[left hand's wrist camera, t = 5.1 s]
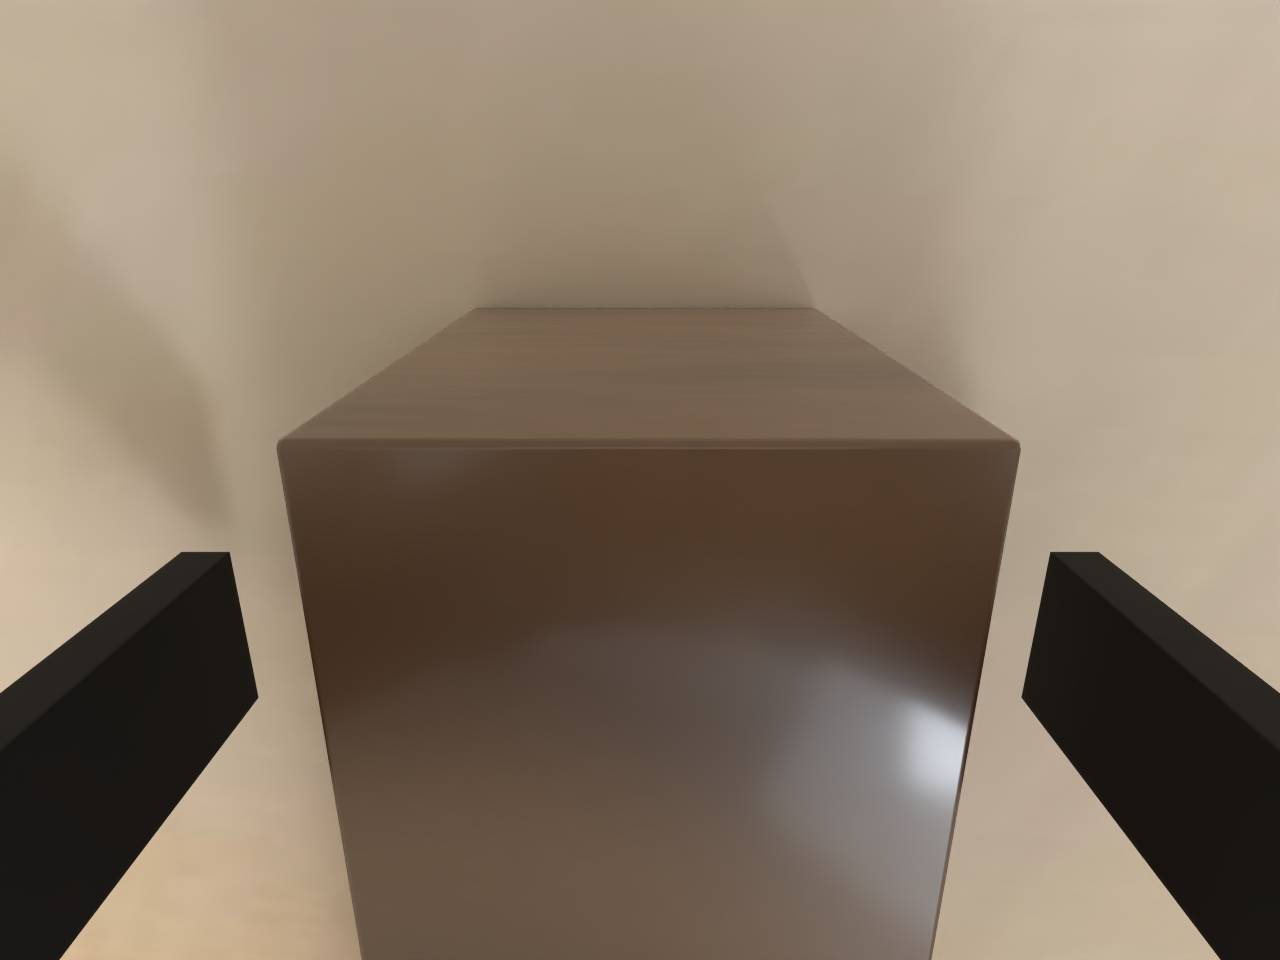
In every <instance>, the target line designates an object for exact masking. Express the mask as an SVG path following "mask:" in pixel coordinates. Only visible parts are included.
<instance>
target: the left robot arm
mask: <svg viewBox="0 0 1280 960" xmlns="http://www.w3.org/2000/svg"><path fill="white" fill-rule="evenodd" d="M257 699H258V693H257V688H256V683H255V678H254V673H253V668H252V663H251V658H250V653H249V648H248V643H247V638H246V633H245V627H244V622H243V617H242V612H241V607H240V602H239V597H238V592H237V587H236V582H235V577H234V572H233V567H232V562H231V557H230V552H181V553H180V554H178V555H177V556H176V557H175V558H173V559H172V560H171V561H169V562H168V563H167V564H166V565H164V566H163V567H162V568H160V569H159V570H158V571H157V572H155V573H154V574H153V575H151V576H150V577H149V578H148V579H146V580H145V581H144V582H142V583H141V584H140V585H139V586H137V587H136V588H135V589H133V590H132V591H131V592H130V593H128V594H127V595H126V596H125V597H123V598H122V599H121V600H119V601H118V602H117V603H116V604H114V605H113V606H112V607H110V608H109V609H108V610H107V611H105V612H104V613H103V614H101V615H100V616H99V617H98V618H96V619H95V620H94V621H92V622H91V623H90V624H89V625H87V626H86V627H85V628H83V629H82V630H81V631H80V632H78V633H77V634H76V635H74V636H73V637H72V638H71V639H69V640H68V641H67V642H65V643H64V644H63V645H62V646H60V647H59V648H58V649H56V650H55V651H54V652H53V653H51V654H50V655H49V656H47V657H46V658H45V659H44V660H42V661H41V662H40V663H38V664H37V665H36V666H35V667H33V668H32V669H31V670H29V671H28V672H27V673H26V674H24V675H23V676H22V677H21V678H19V679H18V680H17V681H15V682H14V683H13V684H12V685H10V686H9V687H8V688H6V689H5V690H4V691H3V692H1V693H0V960H60V958H61V957H62V956H63V954H64V953H65V952H66V950H67V949H68V948H69V946H70V945H71V944H72V942H73V941H74V940H75V938H76V937H77V936H78V935H79V933H80V932H81V931H82V929H83V928H84V927H85V925H86V924H87V923H88V921H89V920H90V919H91V917H92V916H93V915H94V913H95V912H96V911H97V909H98V908H99V907H100V906H101V904H102V903H103V902H104V900H105V899H106V898H107V896H108V895H109V894H110V892H111V891H112V890H113V888H114V887H115V886H116V884H117V883H118V882H119V881H120V879H121V878H122V877H123V875H124V874H125V873H126V871H127V870H128V869H129V867H130V866H131V865H132V863H133V862H134V861H135V859H136V858H137V857H138V856H139V854H140V853H141V852H142V850H143V849H144V848H145V846H146V845H147V844H148V842H149V841H150V840H151V838H152V837H153V836H154V834H155V833H156V832H157V830H158V829H159V828H160V827H161V825H162V824H163V823H164V821H165V820H166V819H167V817H168V816H169V815H170V813H171V812H172V811H173V809H174V808H175V807H176V805H177V804H178V803H179V802H180V800H181V799H182V798H183V796H184V795H185V794H186V792H187V791H188V790H189V788H190V787H191V786H192V784H193V783H194V782H195V780H196V779H197V778H198V776H199V775H200V774H201V773H202V771H203V770H204V769H205V767H206V766H207V765H208V763H209V762H210V761H211V759H212V758H213V757H214V755H215V754H216V753H217V751H218V750H219V749H220V748H221V746H222V745H223V744H224V742H225V741H226V740H227V738H228V737H229V736H230V734H231V733H232V732H233V730H234V729H235V728H236V726H237V725H238V724H239V722H240V721H241V720H242V719H243V717H244V716H245V715H246V713H247V712H248V711H249V709H250V708H251V707H252V705H253V704H254V703H255V701H256V700H257ZM1022 699H1023V700H1024V701H1025V703H1026V704H1027V705H1028V707H1029V708H1030V709H1031V711H1032V712H1033V713H1034V715H1035V716H1036V717H1037V719H1038V720H1039V721H1040V722H1041V724H1042V725H1043V726H1044V728H1045V729H1046V730H1047V732H1048V733H1049V734H1050V736H1051V737H1052V738H1053V740H1054V741H1055V742H1056V744H1057V745H1058V746H1059V748H1060V749H1061V750H1062V751H1063V753H1064V754H1065V755H1066V757H1067V758H1068V759H1069V761H1070V762H1071V763H1072V765H1073V766H1074V767H1075V769H1076V770H1077V771H1078V773H1079V774H1080V775H1081V776H1082V778H1083V779H1084V780H1085V782H1086V783H1087V784H1088V786H1089V787H1090V788H1091V790H1092V791H1093V792H1094V794H1095V795H1096V796H1097V798H1098V799H1099V800H1100V802H1101V803H1102V804H1103V805H1104V807H1105V808H1106V809H1107V811H1108V812H1109V813H1110V815H1111V816H1112V817H1113V819H1114V820H1115V821H1116V823H1117V824H1118V825H1119V827H1120V828H1121V829H1122V830H1123V832H1124V833H1125V834H1126V836H1127V837H1128V838H1129V840H1130V841H1131V842H1132V844H1133V845H1134V846H1135V848H1136V849H1137V850H1138V852H1139V853H1140V854H1141V856H1142V857H1143V858H1144V859H1145V861H1146V862H1147V863H1148V865H1149V866H1150V867H1151V869H1152V870H1153V871H1154V873H1155V874H1156V875H1157V877H1158V878H1159V879H1160V881H1161V882H1162V883H1163V884H1164V886H1165V887H1166V888H1167V890H1168V891H1169V892H1170V894H1171V895H1172V896H1173V898H1174V899H1175V900H1176V902H1177V903H1178V904H1179V906H1180V907H1181V908H1182V910H1183V911H1184V912H1185V913H1186V915H1187V916H1188V917H1189V919H1190V920H1191V921H1192V923H1193V924H1194V925H1195V927H1196V928H1197V929H1198V931H1199V932H1200V933H1201V935H1202V936H1203V937H1204V938H1205V940H1206V941H1207V942H1208V944H1209V945H1210V946H1211V948H1212V949H1213V950H1214V952H1215V953H1216V954H1217V956H1218V957H1219V958H1220V960H1280V693H1279V692H1277V691H1276V690H1275V689H1274V688H1272V687H1271V686H1270V685H1268V684H1267V683H1266V682H1265V681H1263V680H1262V679H1261V678H1259V677H1258V676H1257V675H1256V674H1254V673H1253V672H1252V671H1251V670H1249V669H1248V668H1247V667H1245V666H1244V665H1243V664H1242V663H1240V662H1239V661H1238V660H1236V659H1235V658H1234V657H1233V656H1231V655H1230V654H1229V653H1227V652H1226V651H1225V650H1224V649H1222V648H1221V647H1220V646H1218V645H1217V644H1216V643H1215V642H1213V641H1212V640H1211V639H1209V638H1208V637H1207V636H1206V635H1204V634H1203V633H1202V632H1200V631H1199V630H1198V629H1197V628H1195V627H1194V626H1193V625H1191V624H1190V623H1189V622H1188V621H1186V620H1185V619H1184V618H1182V617H1181V616H1180V615H1179V614H1177V613H1176V612H1175V611H1173V610H1172V609H1171V608H1170V607H1168V606H1167V605H1166V604H1164V603H1163V602H1162V601H1161V600H1159V599H1158V598H1157V597H1155V596H1154V595H1153V594H1152V593H1150V592H1149V591H1148V590H1147V589H1145V588H1144V587H1143V586H1141V585H1140V584H1139V583H1138V582H1136V581H1135V580H1134V579H1132V578H1131V577H1130V576H1129V575H1127V574H1126V573H1125V572H1123V571H1122V570H1121V569H1120V568H1118V567H1117V566H1116V565H1114V564H1113V563H1112V562H1111V561H1109V560H1108V559H1107V558H1105V557H1104V556H1103V555H1102V554H1100V553H1099V552H1050V557H1049V562H1048V567H1047V572H1046V577H1045V582H1044V587H1043V592H1042V597H1041V602H1040V607H1039V612H1038V617H1037V622H1036V627H1035V633H1034V638H1033V643H1032V648H1031V653H1030V658H1029V663H1028V668H1027V673H1026V678H1025V683H1024V688H1023V693H1022Z"/></svg>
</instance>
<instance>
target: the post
mask: <svg viewBox="0 0 1280 960" xmlns="http://www.w3.org/2000/svg"><path fill="white" fill-rule="evenodd" d="M1020 450H1021V449H1020V444H1019V441H1018V440H1016V439H1014V438H1013V437H1011V436H1010V435H1008V434H1007V433H1005V432H1004V431H1002V430H1001V429H999V428H998V427H996V426H995V425H993V424H991V423H990V422H988V421H987V420H985V419H984V418H982V417H981V416H979V415H978V414H976V413H975V412H973V411H972V410H970V409H968V408H967V407H965V406H964V405H962V404H961V403H959V402H958V401H956V400H955V399H953V398H952V397H950V396H949V395H947V394H945V393H944V392H942V391H941V390H939V389H938V388H936V387H935V386H933V385H932V384H930V383H929V382H927V381H926V380H924V379H922V378H921V377H919V376H918V375H916V374H915V373H913V372H912V371H910V370H909V369H907V368H906V367H904V366H903V365H901V364H899V363H898V362H896V361H895V360H893V359H892V358H890V357H889V356H887V355H886V354H884V353H883V352H881V351H879V350H878V349H876V348H875V347H873V346H872V345H870V344H869V343H867V342H866V341H864V340H863V339H861V338H860V337H858V336H856V335H855V334H853V333H852V332H850V331H849V330H847V329H846V328H844V327H843V326H841V325H840V324H838V323H837V322H835V321H833V320H832V319H830V318H829V317H827V316H826V315H824V314H823V313H821V312H820V311H818V310H816V309H651V308H476V309H474V310H472V311H471V312H469V313H468V314H466V315H465V316H463V317H462V318H460V319H459V320H457V321H456V322H454V323H453V324H451V325H450V326H448V327H447V328H445V329H444V330H442V331H441V332H439V333H438V334H436V335H435V336H434V337H432V338H431V339H429V340H428V341H426V342H425V343H423V344H422V345H420V346H419V347H417V348H416V349H414V350H413V351H411V352H410V353H408V354H407V355H405V356H404V357H402V358H401V359H399V360H398V361H396V362H395V363H393V364H392V365H390V366H389V367H387V368H386V369H384V370H383V371H381V372H380V373H378V374H377V375H375V376H374V377H372V378H371V379H369V380H368V381H366V382H365V383H364V384H362V385H361V386H359V387H358V388H356V389H355V390H353V391H352V392H350V393H349V394H347V395H346V396H344V397H343V398H341V399H340V400H338V401H337V402H335V403H334V404H332V405H331V406H329V407H328V408H326V409H325V410H323V411H322V412H320V413H319V414H317V415H316V416H314V417H313V418H311V419H310V420H308V421H307V422H305V423H304V424H302V425H301V426H299V427H298V428H296V429H295V430H294V431H292V432H291V433H289V434H288V435H286V436H285V437H283V438H282V439H280V440H279V441H278V444H277V454H278V460H279V466H280V472H281V478H282V484H283V490H284V496H285V502H286V508H287V514H288V520H289V526H290V531H291V537H292V543H293V549H294V555H295V561H296V567H297V573H298V579H299V585H300V591H301V597H302V603H303V609H304V615H305V621H306V627H307V633H308V639H309V645H310V651H311V657H312V663H313V669H314V675H315V681H316V687H317V693H318V699H319V705H320V711H321V717H322V723H323V729H324V735H325V741H326V747H327V753H328V759H329V765H330V771H331V777H332V783H333V789H334V795H335V801H336V807H337V813H338V819H339V825H340V831H341V837H342V843H343V849H344V855H345V861H346V867H347V873H348V879H349V885H350V891H351V897H352V903H353V909H354V915H355V921H356V927H357V933H358V939H359V945H360V951H361V957H362V960H931V959H932V953H933V947H934V941H935V936H936V930H937V924H938V919H939V913H940V907H941V901H942V896H943V890H944V884H945V879H946V873H947V867H948V861H949V856H950V850H951V844H952V839H953V833H954V827H955V821H956V816H957V810H958V804H959V799H960V793H961V787H962V781H963V776H964V770H965V764H966V759H967V753H968V747H969V741H970V736H971V730H972V724H973V719H974V713H975V707H976V701H977V696H978V690H979V684H980V679H981V673H982V667H983V661H984V656H985V650H986V644H987V639H988V633H989V627H990V621H991V616H992V610H993V604H994V599H995V593H996V587H997V581H998V576H999V570H1000V564H1001V559H1002V553H1003V547H1004V541H1005V536H1006V530H1007V524H1008V519H1009V513H1010V507H1011V501H1012V496H1013V490H1014V484H1015V479H1016V473H1017V467H1018V461H1019V456H1020Z"/></svg>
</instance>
